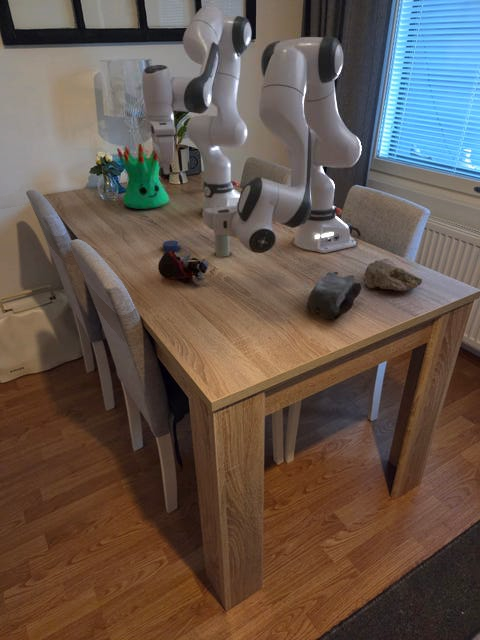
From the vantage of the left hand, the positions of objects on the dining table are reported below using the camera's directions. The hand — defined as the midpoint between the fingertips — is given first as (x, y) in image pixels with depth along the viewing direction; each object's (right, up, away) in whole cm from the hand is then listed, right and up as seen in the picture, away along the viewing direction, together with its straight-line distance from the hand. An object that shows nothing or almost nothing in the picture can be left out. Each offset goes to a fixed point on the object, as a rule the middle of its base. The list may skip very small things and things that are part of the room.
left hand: (164, 170), depth 146 cm
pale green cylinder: (+19, -26, +9) cm, 34 cm away
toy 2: (+7, -37, -8) cm, 39 cm away
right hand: (+22, -15, -11) cm, 29 cm away
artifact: (+70, -38, -10) cm, 80 cm away
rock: (+51, -46, -22) cm, 72 cm away
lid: (0, -22, +12) cm, 25 cm away
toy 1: (-18, +4, +58) cm, 60 cm away
